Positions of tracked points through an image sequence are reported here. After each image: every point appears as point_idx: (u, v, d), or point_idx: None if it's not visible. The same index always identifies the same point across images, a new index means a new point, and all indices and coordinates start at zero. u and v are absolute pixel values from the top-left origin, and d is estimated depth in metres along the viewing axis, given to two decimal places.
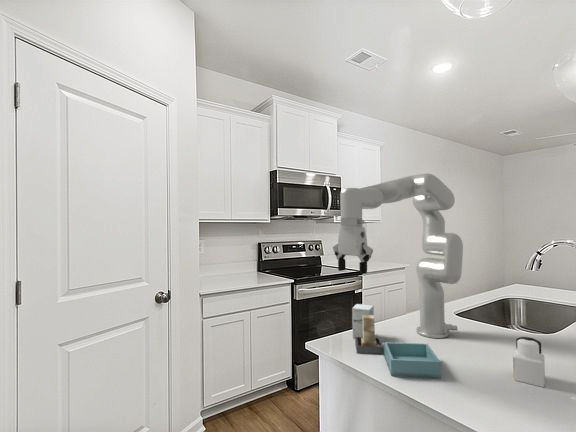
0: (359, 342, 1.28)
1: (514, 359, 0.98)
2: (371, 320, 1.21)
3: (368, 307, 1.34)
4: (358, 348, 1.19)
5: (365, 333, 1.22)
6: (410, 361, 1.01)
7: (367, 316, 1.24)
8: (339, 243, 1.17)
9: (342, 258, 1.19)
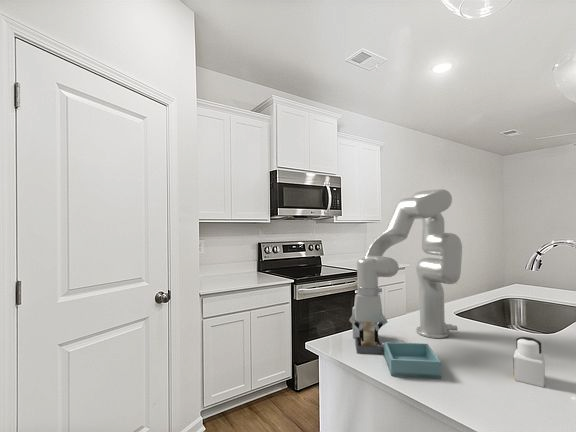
0: (359, 342, 1.28)
1: (514, 359, 0.98)
2: None
3: None
4: (358, 348, 1.19)
5: (365, 333, 1.22)
6: (410, 361, 1.01)
7: None
8: (358, 311, 1.22)
9: (362, 327, 1.24)
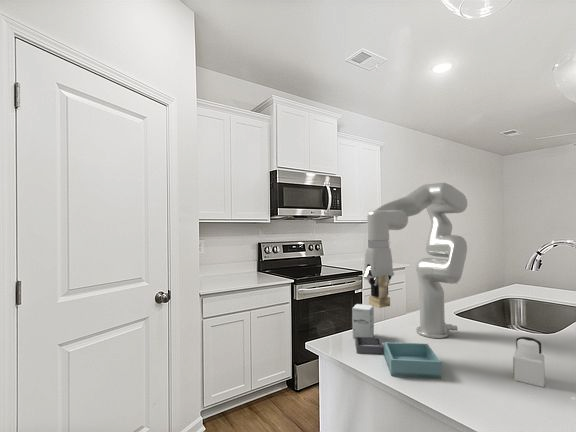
0: (359, 342, 1.28)
1: (514, 359, 0.98)
2: (385, 275, 1.17)
3: (368, 307, 1.34)
4: (358, 348, 1.19)
5: (380, 289, 1.16)
6: (410, 361, 1.01)
7: None
8: (375, 266, 1.15)
9: None
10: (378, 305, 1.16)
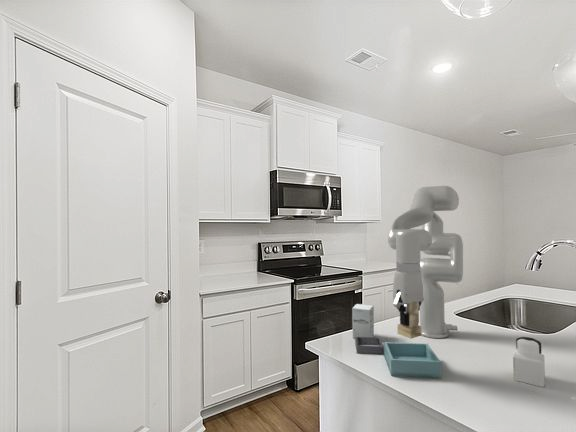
0: (359, 342, 1.28)
1: (514, 359, 0.98)
2: (416, 301, 1.07)
3: (368, 307, 1.34)
4: (358, 348, 1.19)
5: (411, 317, 1.05)
6: (410, 361, 1.01)
7: None
8: (406, 292, 1.04)
9: None
10: (409, 335, 1.05)
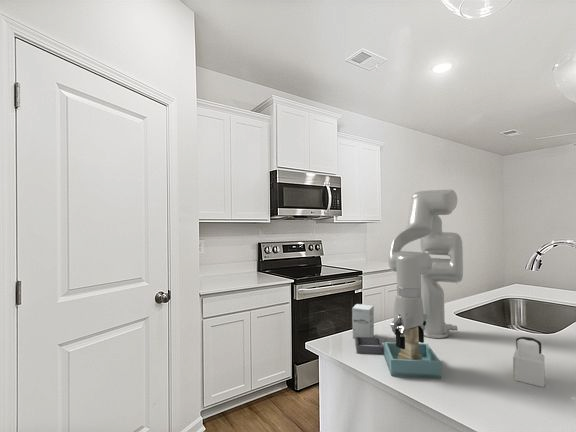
0: (359, 342, 1.28)
1: (514, 359, 0.98)
2: (416, 330, 1.07)
3: (368, 307, 1.34)
4: (358, 348, 1.19)
5: (412, 346, 1.06)
6: (410, 361, 1.01)
7: None
8: (407, 317, 1.04)
9: None
10: None
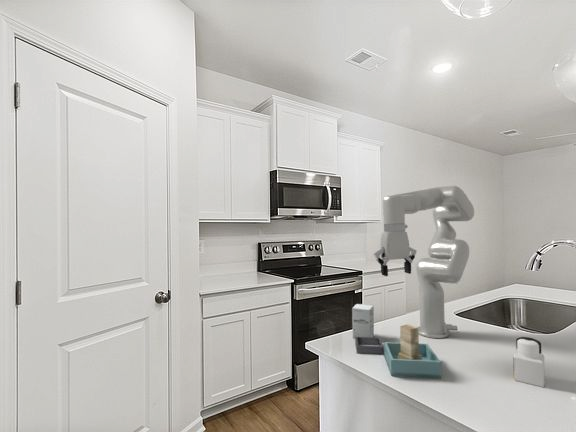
0: (359, 342, 1.28)
1: (514, 359, 0.98)
2: (416, 330, 1.07)
3: (368, 307, 1.34)
4: (358, 348, 1.19)
5: (412, 346, 1.06)
6: (410, 361, 1.01)
7: (407, 326, 1.08)
8: (389, 249, 1.19)
9: None
10: None
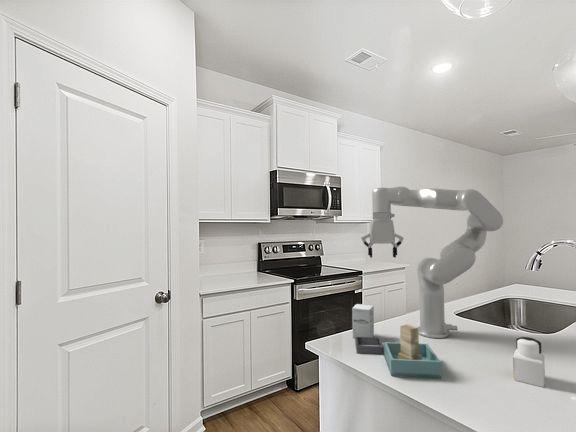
0: (359, 342, 1.28)
1: (514, 359, 0.98)
2: (416, 330, 1.07)
3: (368, 307, 1.34)
4: (358, 348, 1.19)
5: (412, 346, 1.06)
6: (410, 361, 1.01)
7: (407, 326, 1.08)
8: (373, 234, 1.38)
9: None
10: None
